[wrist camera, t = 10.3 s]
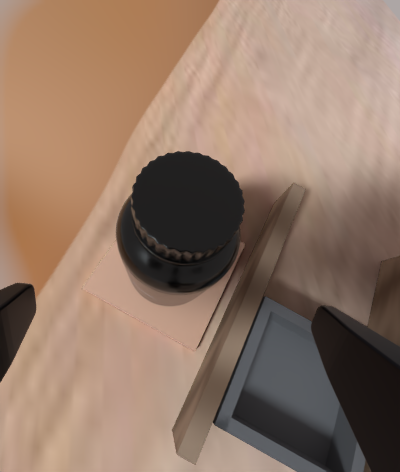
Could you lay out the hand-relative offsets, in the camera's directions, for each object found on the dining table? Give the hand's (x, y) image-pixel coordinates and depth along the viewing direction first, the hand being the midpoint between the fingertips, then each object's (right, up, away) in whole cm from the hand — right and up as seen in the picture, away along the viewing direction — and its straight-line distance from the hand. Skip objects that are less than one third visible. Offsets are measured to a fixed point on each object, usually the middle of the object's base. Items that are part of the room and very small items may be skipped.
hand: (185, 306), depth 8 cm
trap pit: (+7, -9, +12) cm, 17 cm away
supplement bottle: (-2, 0, +14) cm, 14 cm away
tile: (-2, 0, +14) cm, 14 cm away
